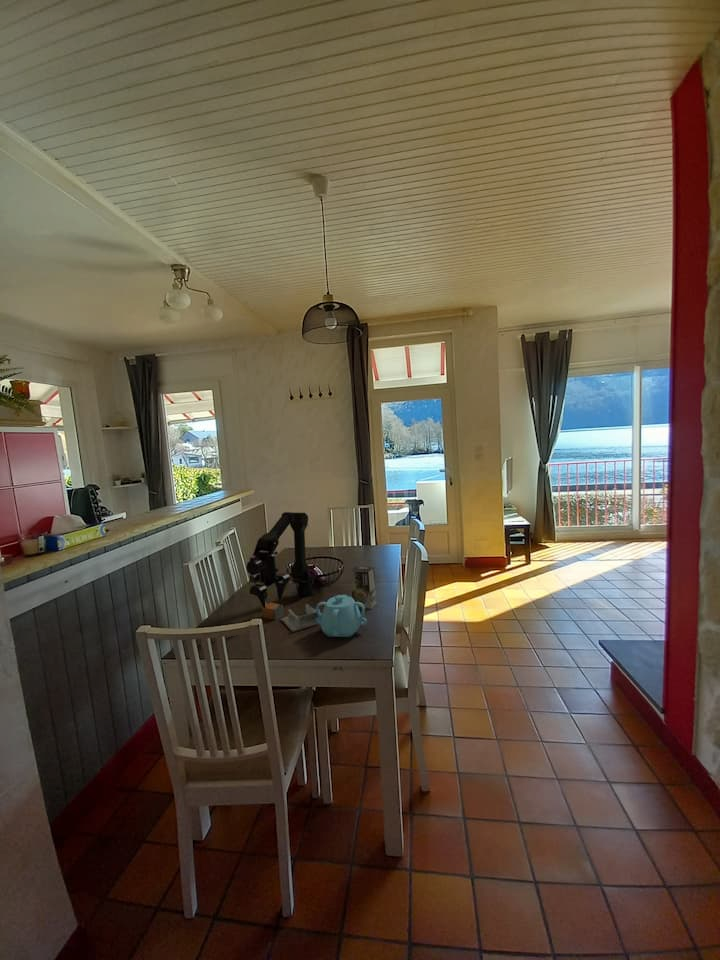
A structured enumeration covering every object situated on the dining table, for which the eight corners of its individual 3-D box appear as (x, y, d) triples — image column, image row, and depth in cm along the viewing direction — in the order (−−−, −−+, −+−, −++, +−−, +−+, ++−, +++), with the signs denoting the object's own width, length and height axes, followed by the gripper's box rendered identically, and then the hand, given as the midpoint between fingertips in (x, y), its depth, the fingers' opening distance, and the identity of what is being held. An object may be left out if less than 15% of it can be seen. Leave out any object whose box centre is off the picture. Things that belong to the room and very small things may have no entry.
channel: (315, 610, 166) (314, 599, 165) (328, 621, 155) (327, 608, 154) (281, 620, 158) (280, 608, 158) (292, 632, 147) (291, 619, 147)
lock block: (271, 612, 167) (270, 602, 166) (283, 615, 163) (282, 604, 163) (262, 617, 162) (261, 607, 162) (275, 620, 159) (274, 609, 158)
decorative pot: (371, 633, 142) (369, 597, 141) (331, 646, 134) (328, 608, 133) (351, 618, 156) (349, 585, 155) (314, 628, 149) (311, 594, 148)
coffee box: (377, 603, 169) (374, 567, 167) (371, 609, 163) (368, 572, 162) (358, 601, 173) (355, 565, 171) (352, 606, 167) (349, 570, 165)
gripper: (270, 559, 173) (273, 593, 174) (238, 572, 157) (241, 609, 158) (289, 561, 168) (292, 596, 169) (258, 575, 151) (261, 613, 153)
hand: (272, 603), depth 162 cm, fingers open, 9 cm apart
